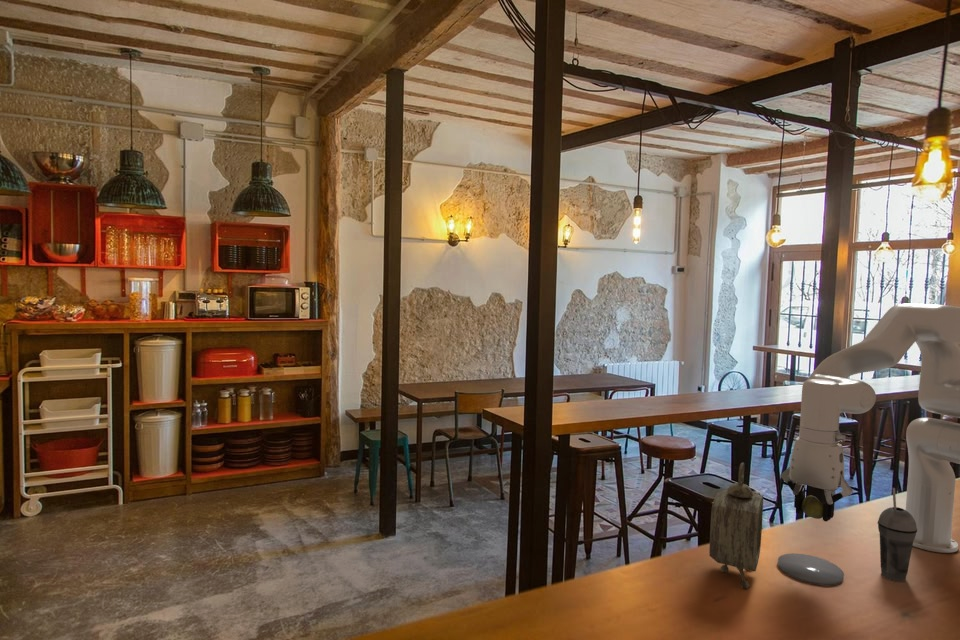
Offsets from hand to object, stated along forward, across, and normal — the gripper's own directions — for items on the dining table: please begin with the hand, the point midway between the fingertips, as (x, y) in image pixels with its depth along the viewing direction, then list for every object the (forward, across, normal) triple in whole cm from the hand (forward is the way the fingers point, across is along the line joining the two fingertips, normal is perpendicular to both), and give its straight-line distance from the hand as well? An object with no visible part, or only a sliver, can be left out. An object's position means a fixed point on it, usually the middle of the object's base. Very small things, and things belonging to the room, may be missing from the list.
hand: (813, 515), depth 134 cm
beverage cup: (+13, -13, -12) cm, 22 cm away
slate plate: (+13, 0, 0) cm, 13 cm away
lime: (+1, 0, 0) cm, 1 cm away
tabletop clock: (+13, +10, +15) cm, 23 cm away
